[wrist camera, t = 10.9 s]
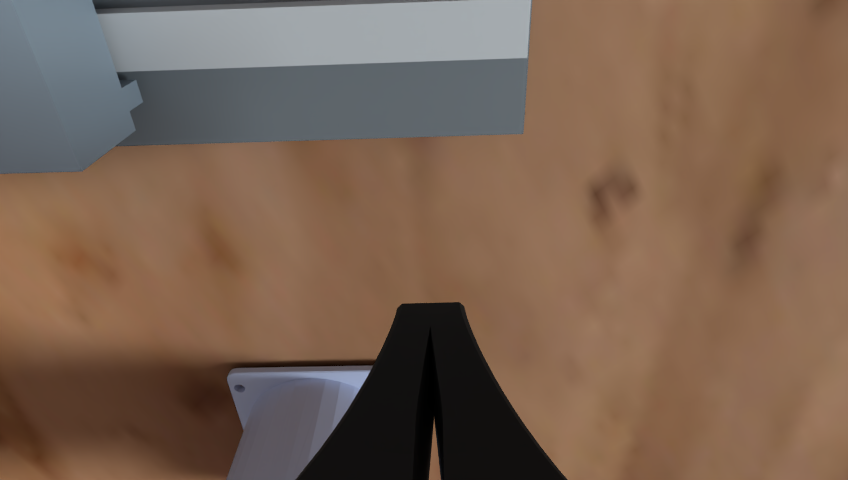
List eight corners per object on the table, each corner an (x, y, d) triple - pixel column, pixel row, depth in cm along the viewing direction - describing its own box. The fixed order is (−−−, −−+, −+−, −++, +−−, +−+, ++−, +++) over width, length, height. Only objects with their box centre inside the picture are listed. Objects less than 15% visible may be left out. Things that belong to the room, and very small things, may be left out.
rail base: (518, 121, 19) (527, 145, 17) (-36, 138, 19) (-86, 163, 17) (532, -118, 15) (547, -122, 13) (-155, -89, 16) (-235, -88, 14)
